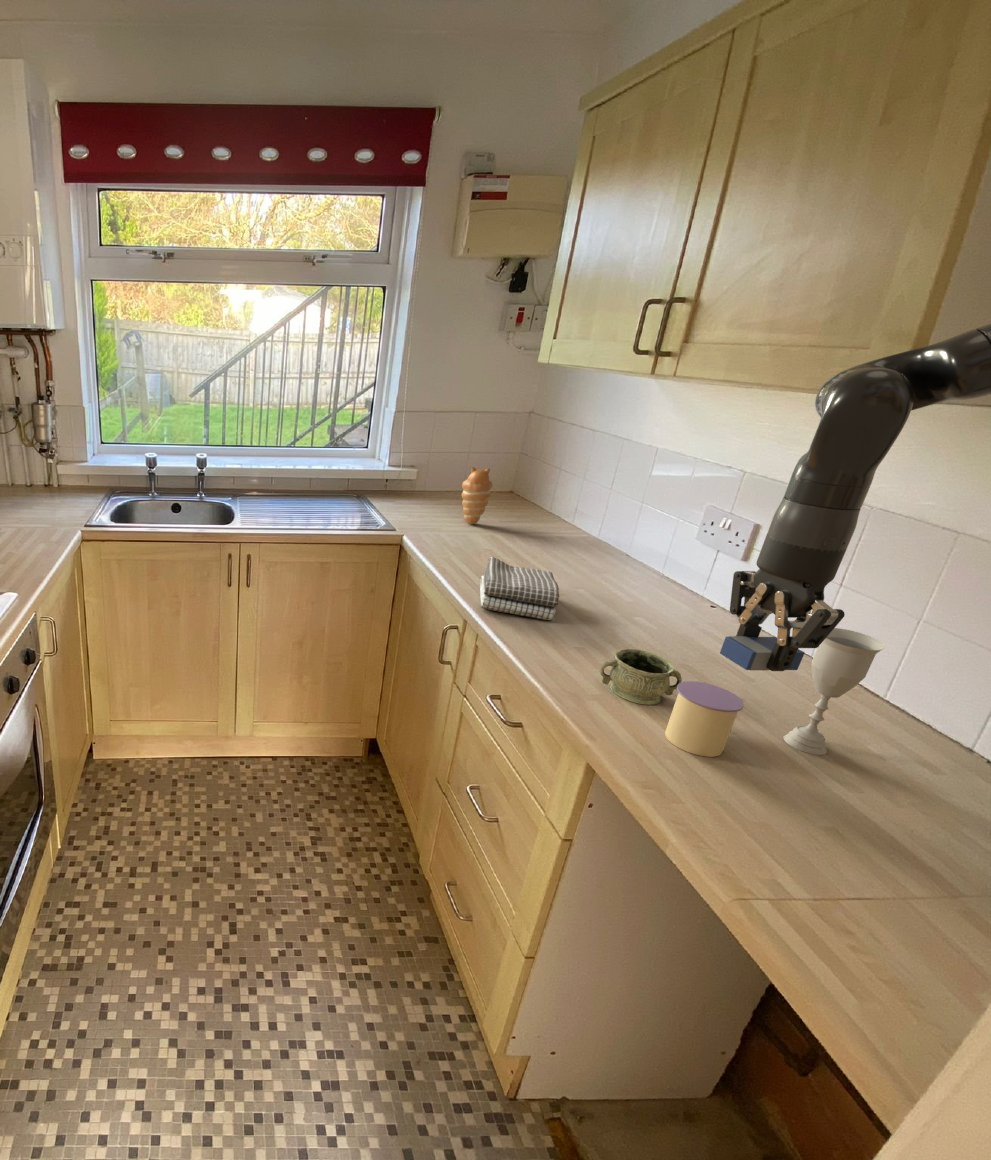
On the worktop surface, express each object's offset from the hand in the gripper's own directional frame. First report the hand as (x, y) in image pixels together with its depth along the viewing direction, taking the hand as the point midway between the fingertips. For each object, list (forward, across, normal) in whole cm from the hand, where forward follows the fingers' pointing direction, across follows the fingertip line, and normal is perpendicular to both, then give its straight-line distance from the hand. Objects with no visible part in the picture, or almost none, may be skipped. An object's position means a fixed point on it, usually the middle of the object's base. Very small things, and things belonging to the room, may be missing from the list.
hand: (758, 659), depth 84 cm
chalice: (+18, +5, -18) cm, 26 cm away
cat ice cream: (+19, +119, -14) cm, 122 cm away
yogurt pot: (+18, +6, -1) cm, 19 cm away
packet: (0, 0, 0) cm, 0 cm away
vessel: (+18, +20, -1) cm, 27 cm away
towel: (+18, +58, +1) cm, 61 cm away
